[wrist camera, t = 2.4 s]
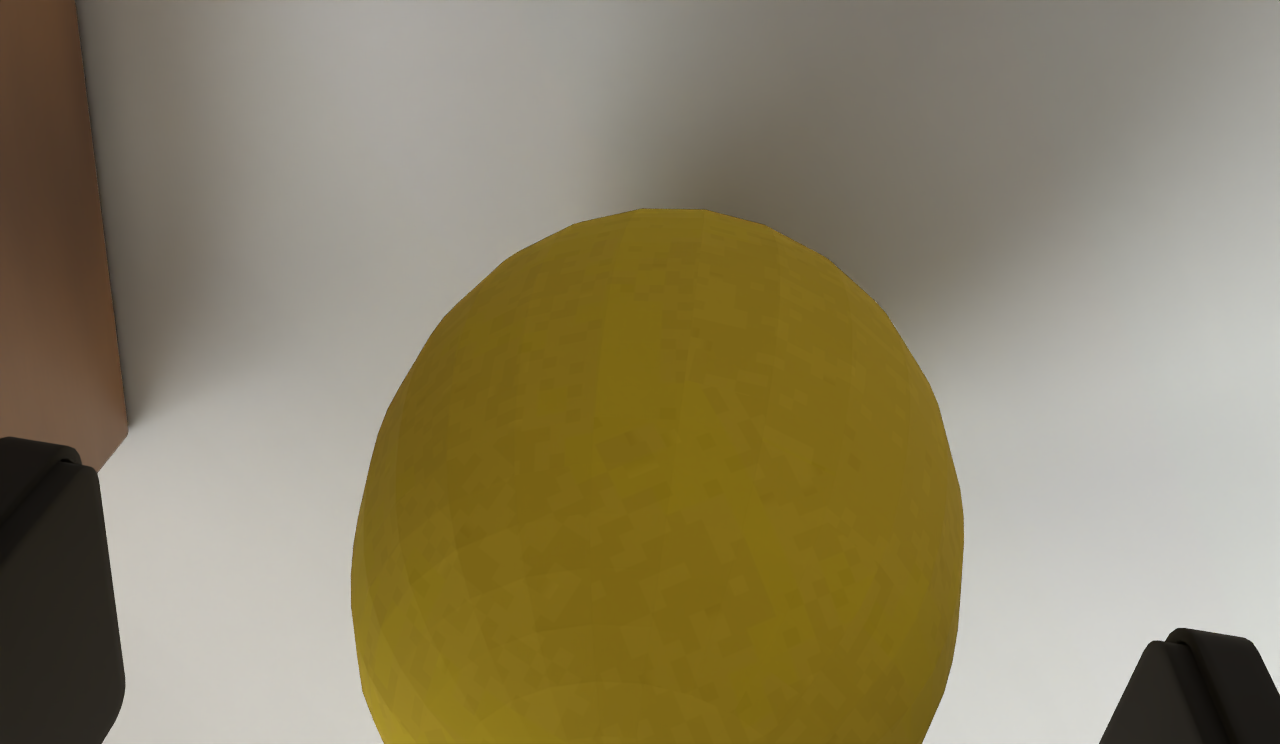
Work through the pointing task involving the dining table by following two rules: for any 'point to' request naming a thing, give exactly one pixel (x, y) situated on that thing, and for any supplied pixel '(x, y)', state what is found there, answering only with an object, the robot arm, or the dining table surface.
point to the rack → (53, 244)
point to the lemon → (660, 504)
